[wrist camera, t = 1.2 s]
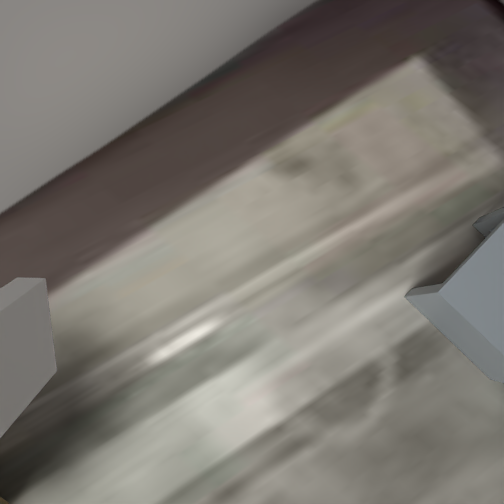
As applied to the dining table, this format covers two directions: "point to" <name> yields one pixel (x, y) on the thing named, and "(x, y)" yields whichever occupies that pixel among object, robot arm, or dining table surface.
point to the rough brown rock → (3, 501)
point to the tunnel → (473, 300)
